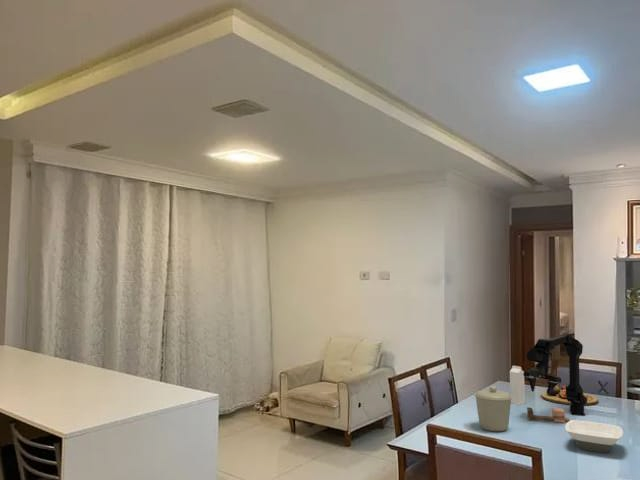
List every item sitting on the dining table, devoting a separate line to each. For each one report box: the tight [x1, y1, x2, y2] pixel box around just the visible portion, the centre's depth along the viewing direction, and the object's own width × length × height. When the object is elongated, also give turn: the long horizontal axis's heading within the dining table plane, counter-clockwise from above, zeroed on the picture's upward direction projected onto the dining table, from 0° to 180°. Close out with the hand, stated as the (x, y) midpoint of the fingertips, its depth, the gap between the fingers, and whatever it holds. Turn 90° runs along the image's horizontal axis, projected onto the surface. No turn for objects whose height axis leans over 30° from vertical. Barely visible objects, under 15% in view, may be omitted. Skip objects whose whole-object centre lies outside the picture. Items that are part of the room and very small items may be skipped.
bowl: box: [564, 419, 624, 454], centre depth 226 cm, size 22×23×8 cm
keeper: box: [551, 407, 566, 424], centre depth 267 cm, size 5×7×6 cm
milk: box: [509, 365, 526, 406], centre depth 303 cm, size 6×6×22 cm
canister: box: [473, 385, 512, 432], centre depth 254 cm, size 18×18×21 cm
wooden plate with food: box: [540, 385, 599, 406], centre depth 312 cm, size 32×32×8 cm
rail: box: [526, 406, 571, 424], centre depth 268 cm, size 20×7×5 cm, turn 73°
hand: (540, 393), depth 266 cm, fingers open, 9 cm apart
